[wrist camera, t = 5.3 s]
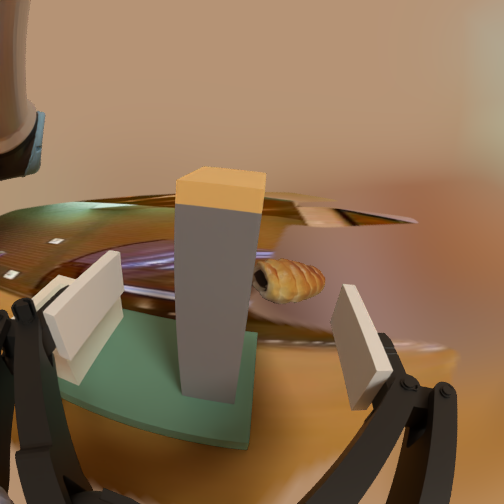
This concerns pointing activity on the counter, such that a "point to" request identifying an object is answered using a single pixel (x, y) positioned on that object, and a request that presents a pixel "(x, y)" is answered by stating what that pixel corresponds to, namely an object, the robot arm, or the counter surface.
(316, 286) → the pastry
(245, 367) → the board
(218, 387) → the plug
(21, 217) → the counter surface
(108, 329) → the header
